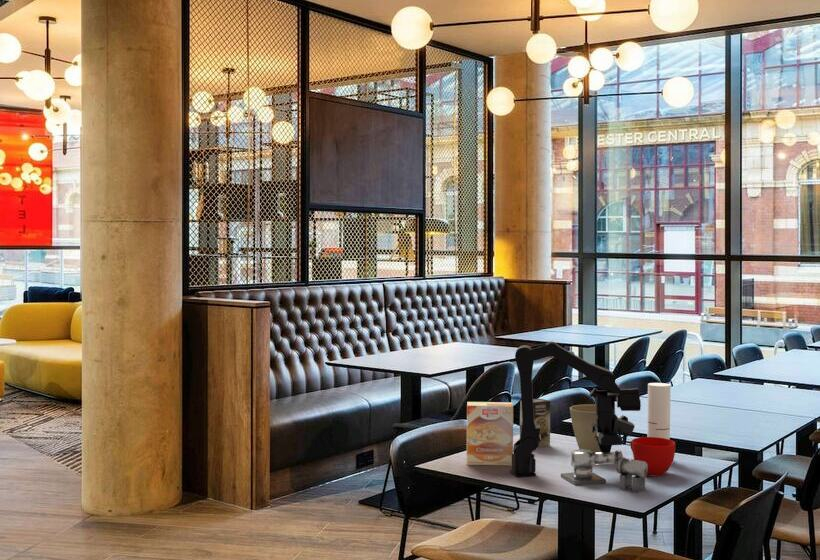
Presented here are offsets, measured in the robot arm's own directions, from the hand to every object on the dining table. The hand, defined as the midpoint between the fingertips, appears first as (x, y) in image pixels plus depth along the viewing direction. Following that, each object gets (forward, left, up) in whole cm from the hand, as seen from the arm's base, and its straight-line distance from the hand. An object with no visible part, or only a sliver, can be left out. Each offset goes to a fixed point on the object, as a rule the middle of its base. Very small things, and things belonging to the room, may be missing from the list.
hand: (606, 460), depth 269 cm
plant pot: (+9, +26, -5) cm, 28 cm away
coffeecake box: (-28, +25, -5) cm, 38 cm away
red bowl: (+16, +1, -5) cm, 16 cm away
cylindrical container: (+27, +14, -5) cm, 31 cm away
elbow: (-5, -2, -1) cm, 5 cm away
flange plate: (-8, -2, -5) cm, 10 cm away
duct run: (+1, -15, -5) cm, 16 cm away
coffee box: (-4, +44, -5) cm, 45 cm away
